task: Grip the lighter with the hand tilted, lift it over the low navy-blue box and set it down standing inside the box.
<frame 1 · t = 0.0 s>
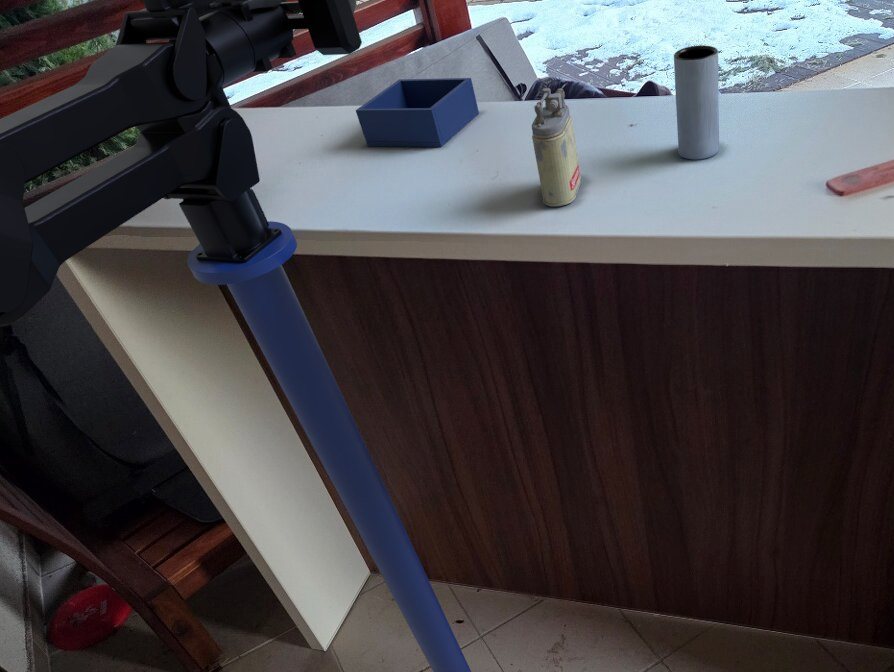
box: (424, 129, 100), on the table
lighter: (561, 194, 81), on the table
grey tall cylinder: (698, 153, 84), on the table
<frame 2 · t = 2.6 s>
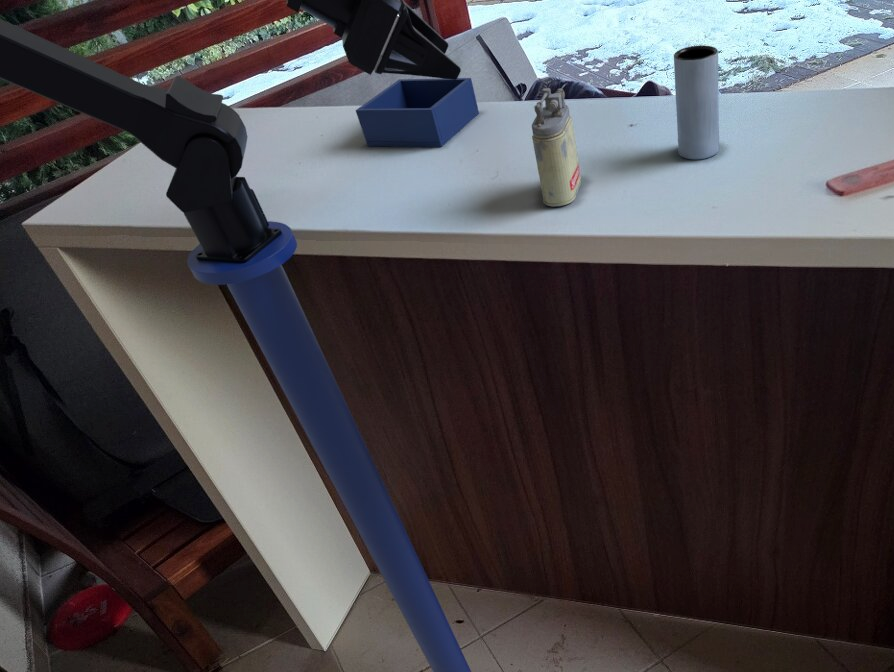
hand: (452, 61, 72), 14 cm above the table, tool tilted 50°, fingers open, 9 cm apart
nothing on the table moved.
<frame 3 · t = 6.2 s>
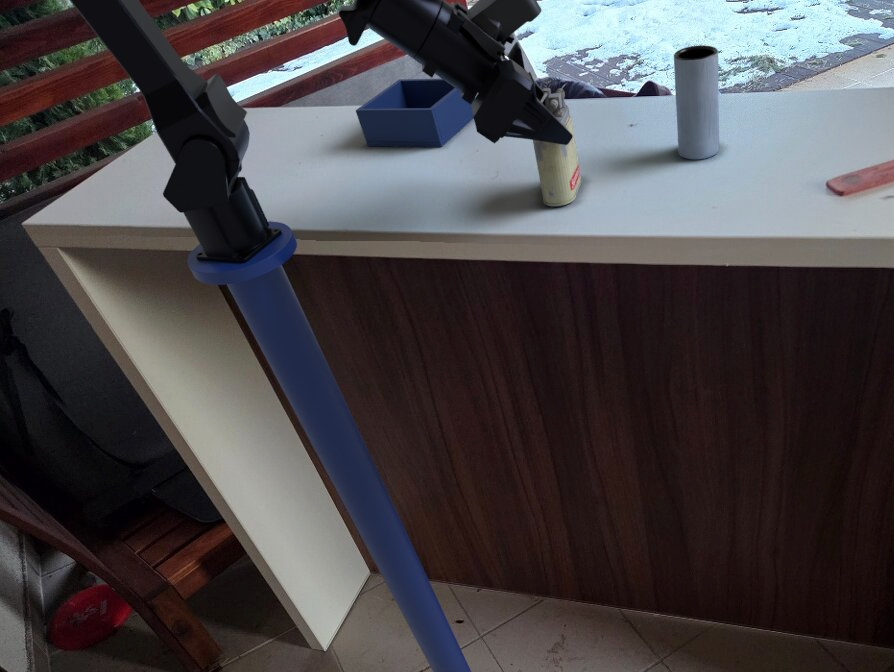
hand: (564, 128, 76), 7 cm above the table, tool tilted 45°, fingers closed on lighter, 7 cm apart
lighter: (561, 194, 81), on the table, touching gripper
everything else where it was.
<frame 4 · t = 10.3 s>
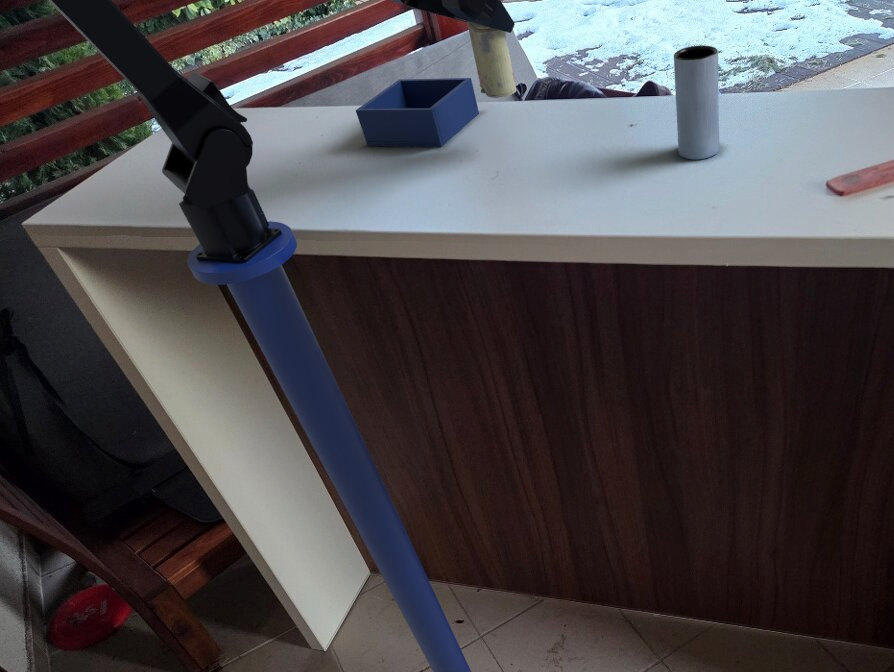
hand: (495, 24, 83), 13 cm above the table, tool tilted 45°, fingers closed on lighter, 7 cm apart
lighter: (497, 91, 88), point 6 cm above the table, touching gripper
everything else where it was.
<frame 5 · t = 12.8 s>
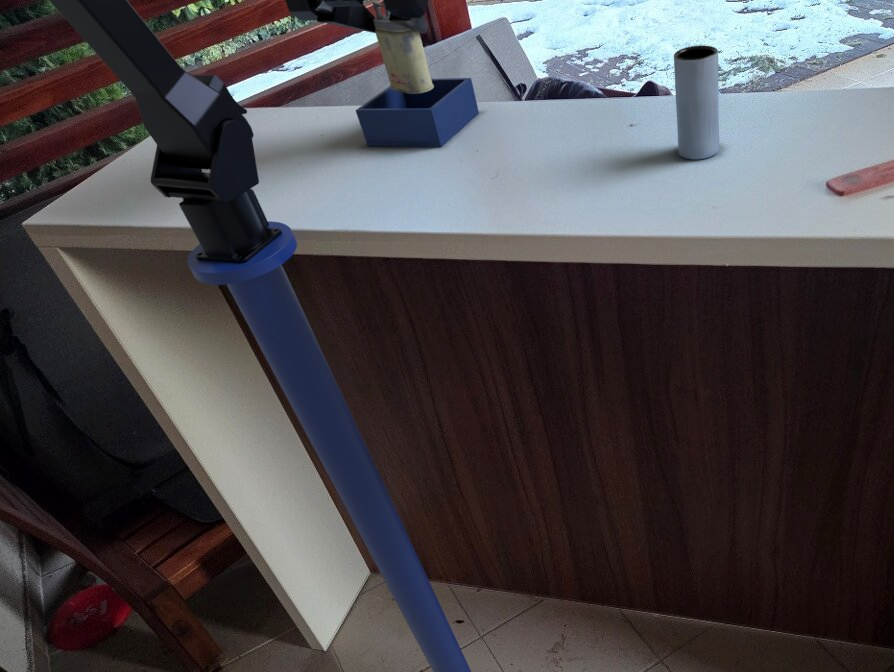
hand: (402, 29, 93), 12 cm above the table, tool tilted 45°, fingers closed on lighter, 7 cm apart
lighter: (411, 90, 97), point 5 cm above the table, touching gripper
everything else where it was.
when the fingers open (7 cm above the table, at t = 14.7 s): lighter stays where it is, resting on box.
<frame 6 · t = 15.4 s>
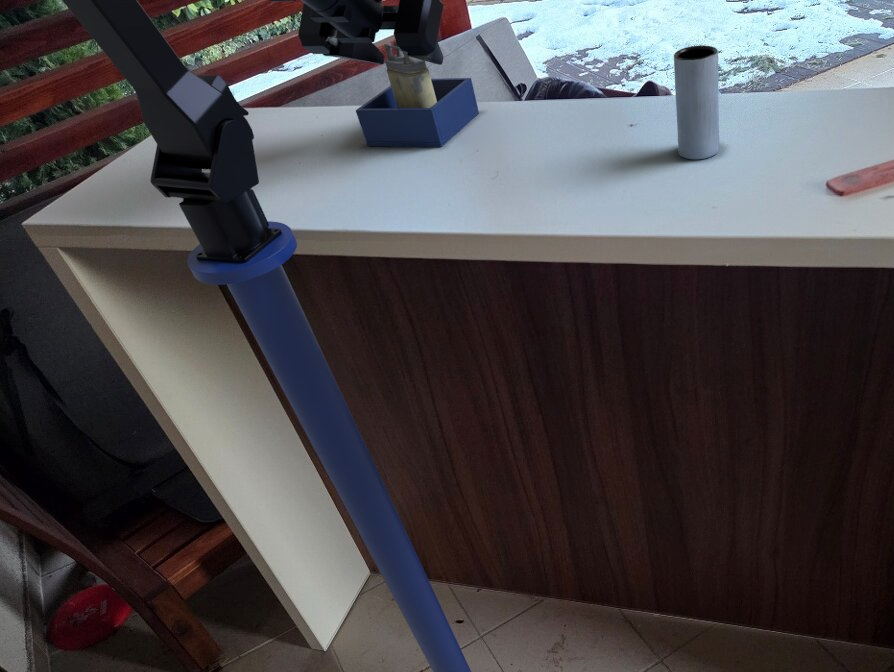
hand: (411, 60, 95), 8 cm above the table, tool tilted 45°, fingers open, 9 cm apart
lighter: (422, 126, 100), resting on box
everything else where it was.
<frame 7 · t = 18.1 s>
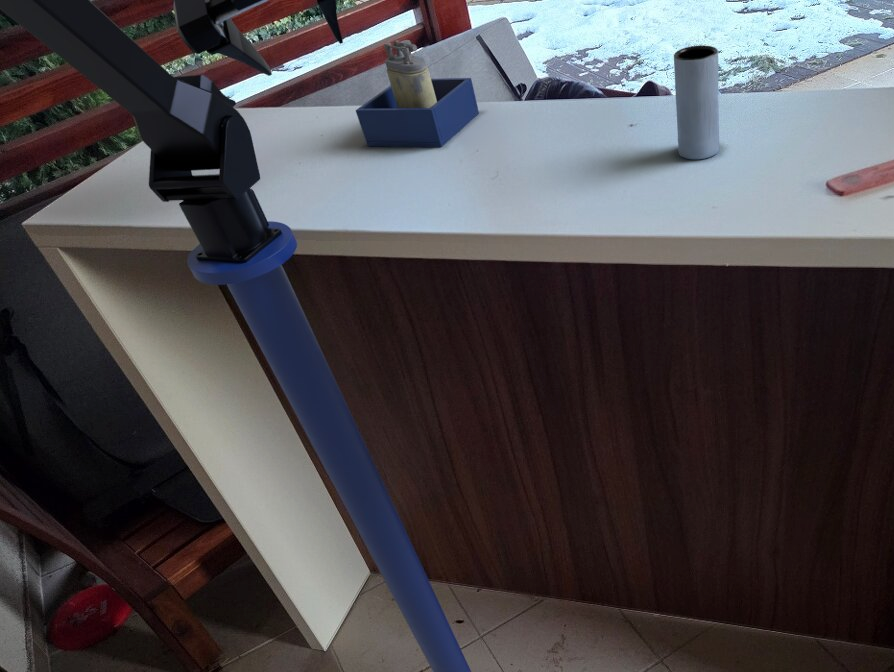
hand: (305, 56, 87), 12 cm above the table, tool tilted 25°, fingers open, 9 cm apart
nothing on the table moved.
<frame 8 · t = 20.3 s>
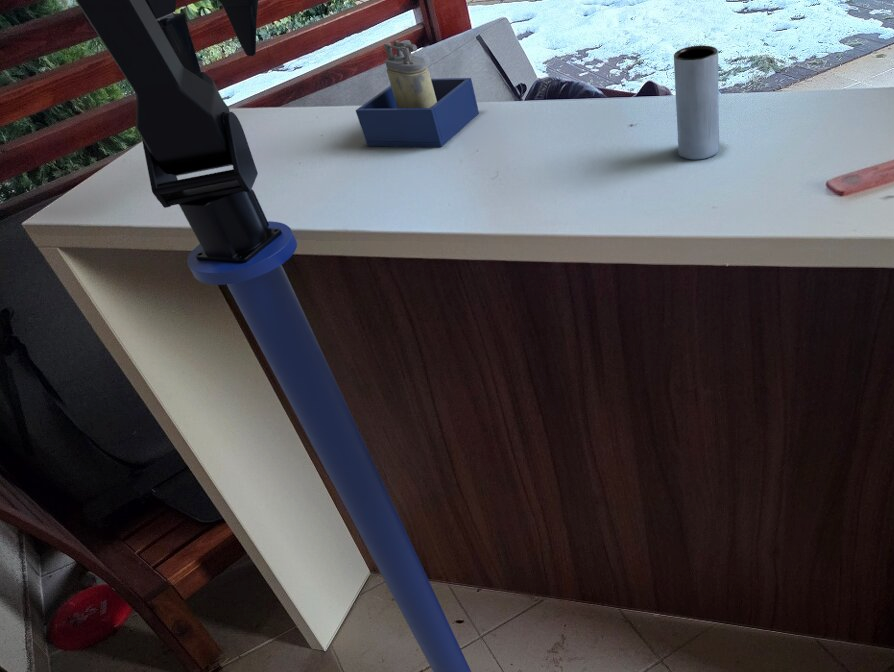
hand: (225, 69, 85), 13 cm above the table, tool pointing down, fingers open, 9 cm apart
nothing on the table moved.
at the end: lighter inside the target area in the box (0.2 cm from its centre), point 0.4 cm above the box's base; lighter tilted 0°; the gripper is holding nothing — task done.
